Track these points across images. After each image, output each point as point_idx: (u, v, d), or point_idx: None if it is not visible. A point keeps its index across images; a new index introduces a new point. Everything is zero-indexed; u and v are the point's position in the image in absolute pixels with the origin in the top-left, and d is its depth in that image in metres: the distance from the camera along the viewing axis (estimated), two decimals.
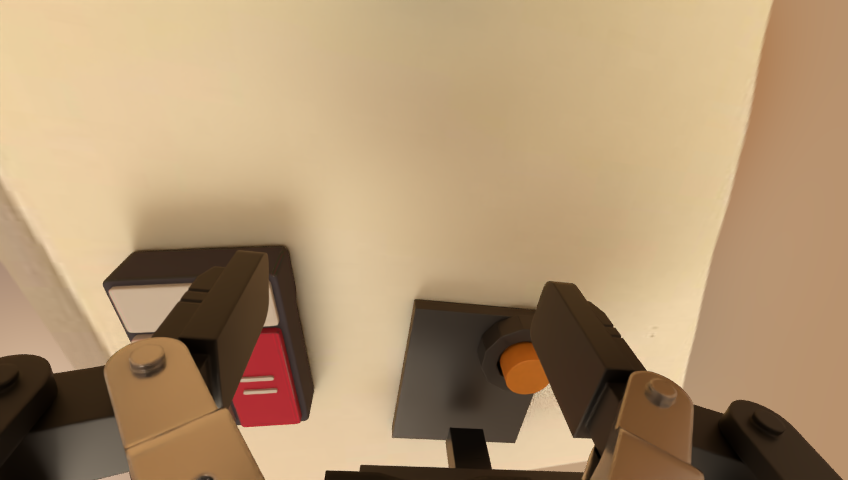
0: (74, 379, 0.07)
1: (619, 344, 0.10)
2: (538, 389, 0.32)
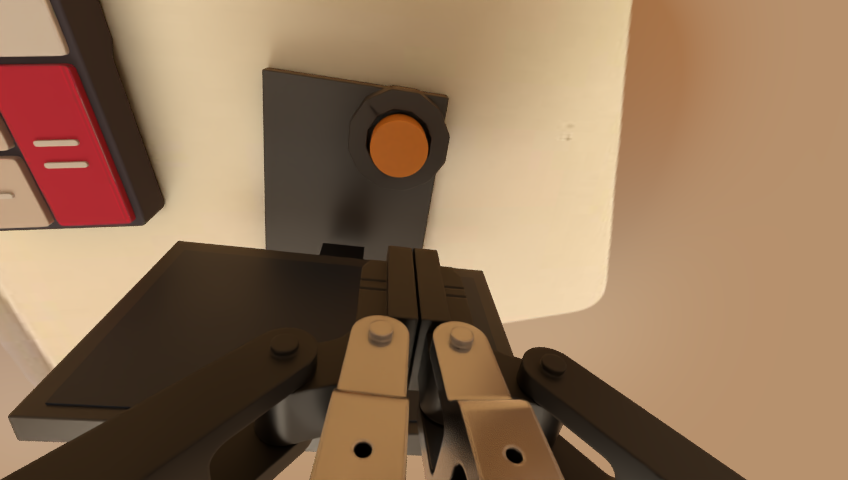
0: (318, 349, 0.09)
1: (459, 303, 0.11)
2: (413, 169, 0.26)
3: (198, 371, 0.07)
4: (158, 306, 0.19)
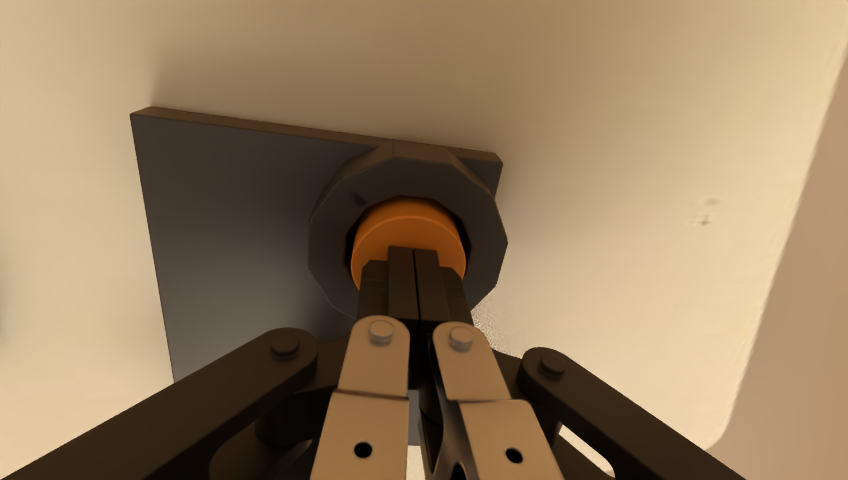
0: (318, 349, 0.09)
1: (459, 303, 0.11)
2: None
3: (199, 371, 0.07)
4: None
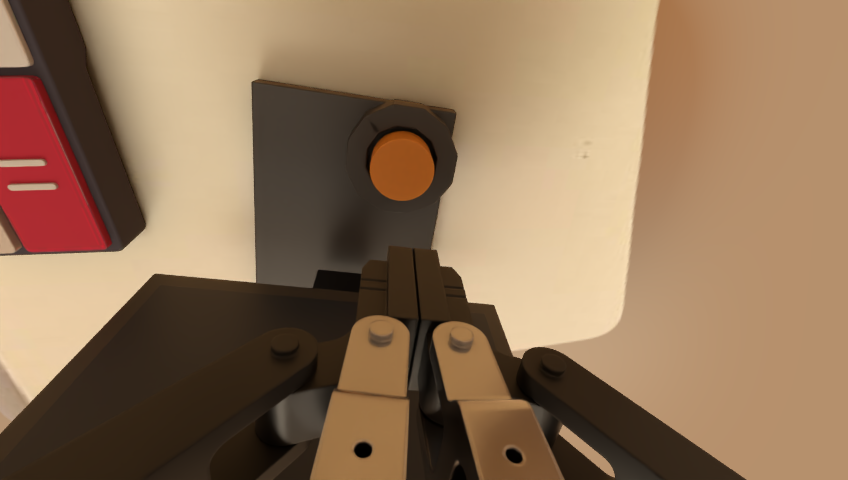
0: (318, 349, 0.09)
1: (459, 303, 0.11)
2: (418, 192, 0.24)
3: (198, 371, 0.07)
4: (123, 359, 0.16)
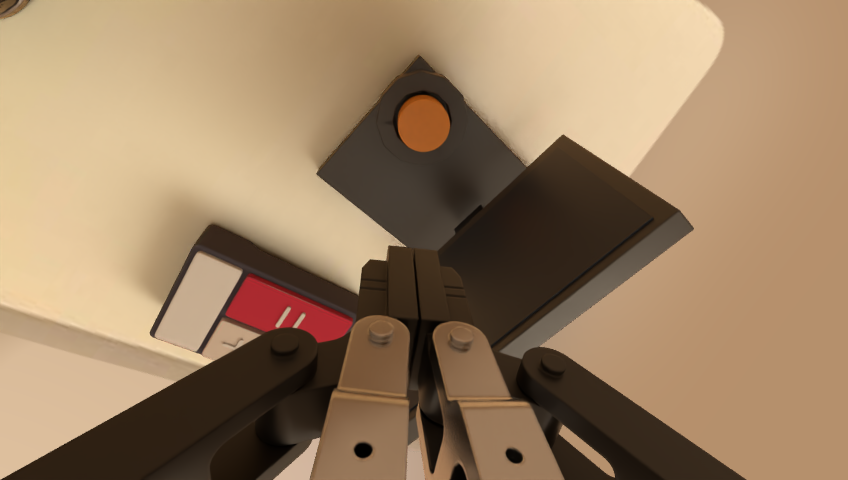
0: (318, 349, 0.09)
1: (459, 303, 0.11)
2: (446, 126, 0.29)
3: (198, 371, 0.07)
4: None
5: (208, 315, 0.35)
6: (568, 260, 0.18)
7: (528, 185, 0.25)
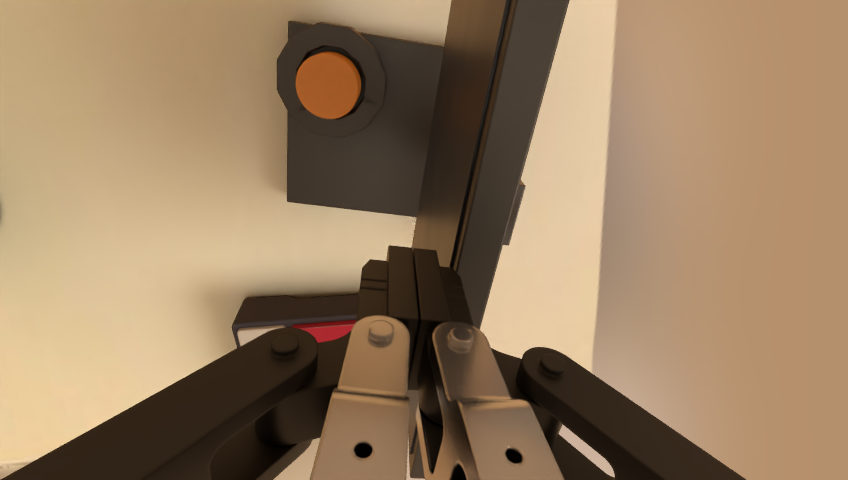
0: (319, 349, 0.09)
1: (459, 303, 0.11)
2: (348, 70, 0.24)
3: (199, 371, 0.07)
4: None
5: None
6: None
7: (444, 69, 0.19)
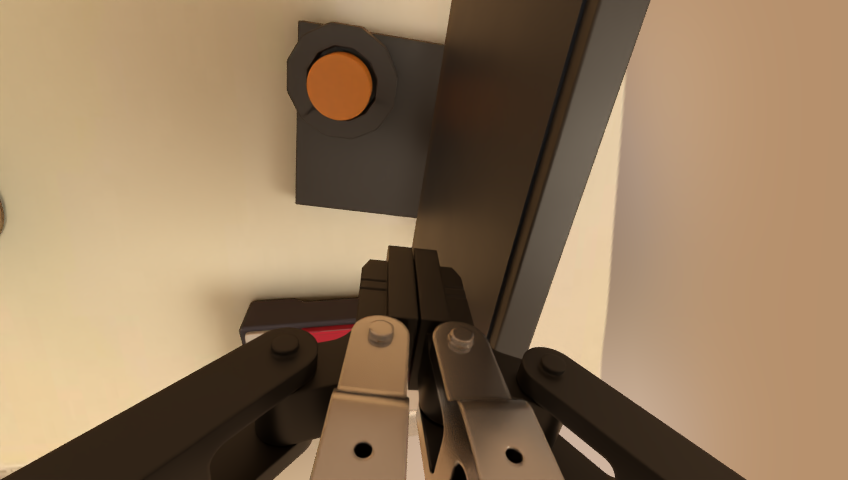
0: (318, 349, 0.09)
1: (459, 303, 0.11)
2: (360, 71, 0.23)
3: (199, 371, 0.07)
4: None
5: None
6: (523, 132, 0.12)
7: (451, 68, 0.18)
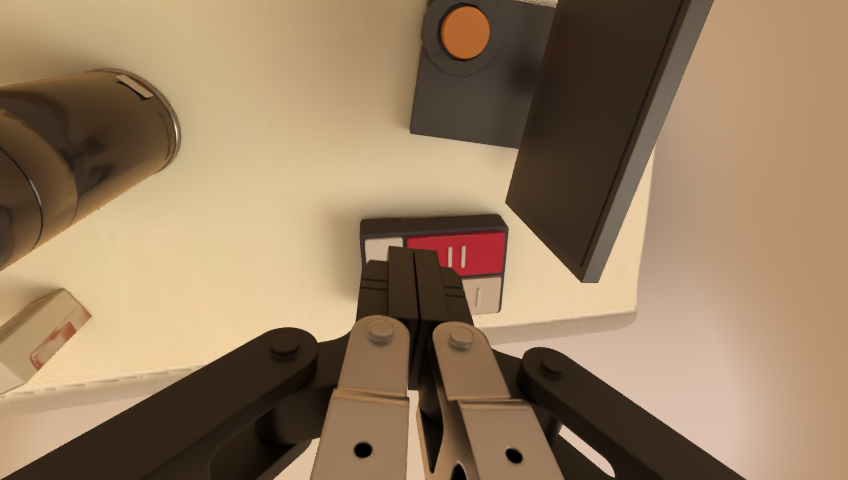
0: (319, 349, 0.09)
1: (459, 303, 0.11)
2: (484, 20, 0.32)
3: (199, 371, 0.07)
4: (542, 213, 0.29)
5: None
6: (653, 25, 0.20)
7: (571, 8, 0.26)
